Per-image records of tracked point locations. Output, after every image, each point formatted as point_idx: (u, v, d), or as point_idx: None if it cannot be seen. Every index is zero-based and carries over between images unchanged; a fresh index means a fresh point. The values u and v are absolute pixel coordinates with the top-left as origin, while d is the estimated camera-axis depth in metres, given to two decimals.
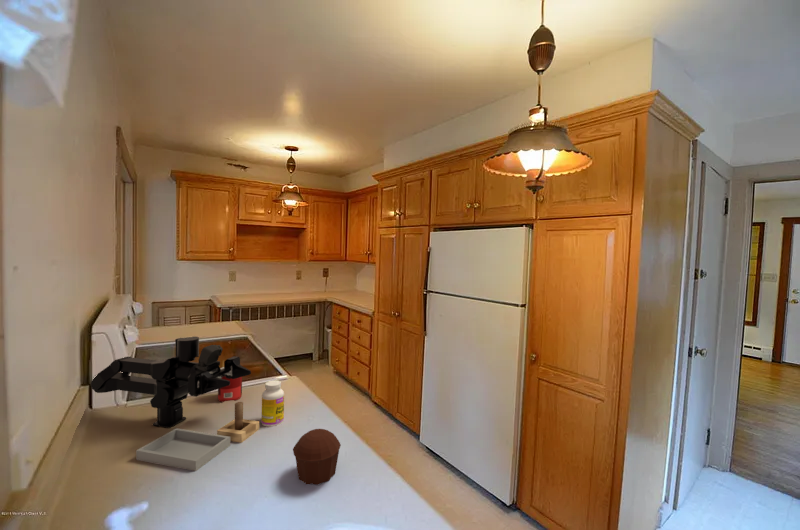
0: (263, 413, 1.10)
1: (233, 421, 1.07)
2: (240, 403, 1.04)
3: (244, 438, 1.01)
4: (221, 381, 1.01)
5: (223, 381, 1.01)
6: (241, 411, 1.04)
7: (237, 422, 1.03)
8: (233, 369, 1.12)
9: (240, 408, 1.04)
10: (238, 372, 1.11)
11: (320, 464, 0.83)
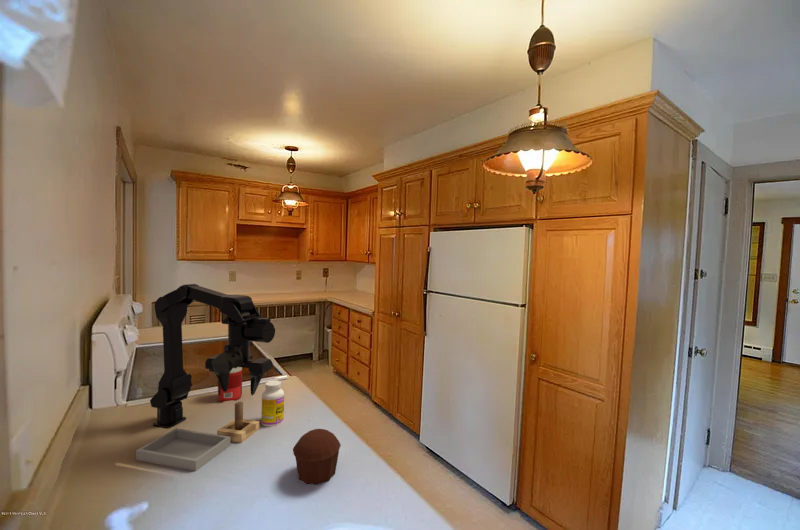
0: (263, 413, 1.10)
1: (233, 421, 1.07)
2: (240, 403, 1.04)
3: (244, 438, 1.01)
4: None
5: None
6: (241, 411, 1.04)
7: (237, 422, 1.03)
8: None
9: (240, 408, 1.04)
10: None
11: (319, 464, 0.83)
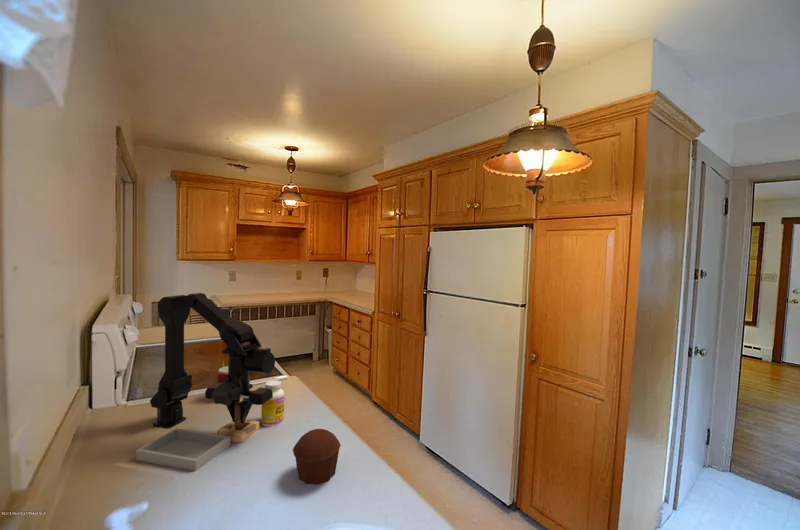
0: (263, 413, 1.10)
1: None
2: None
3: (244, 438, 1.01)
4: None
5: None
6: None
7: (237, 422, 1.03)
8: None
9: None
10: None
11: (319, 464, 0.83)
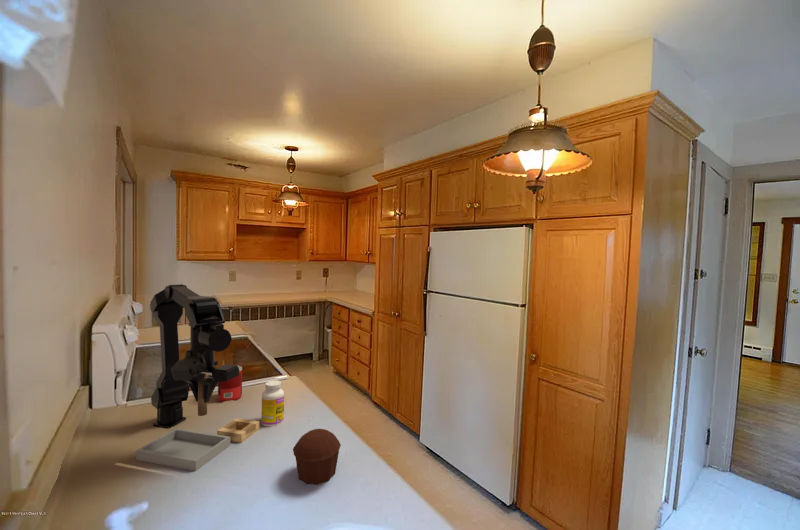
0: (263, 413, 1.10)
1: (233, 421, 1.07)
2: None
3: (244, 438, 1.01)
4: None
5: None
6: None
7: (200, 401, 0.96)
8: None
9: None
10: None
11: (320, 464, 0.83)
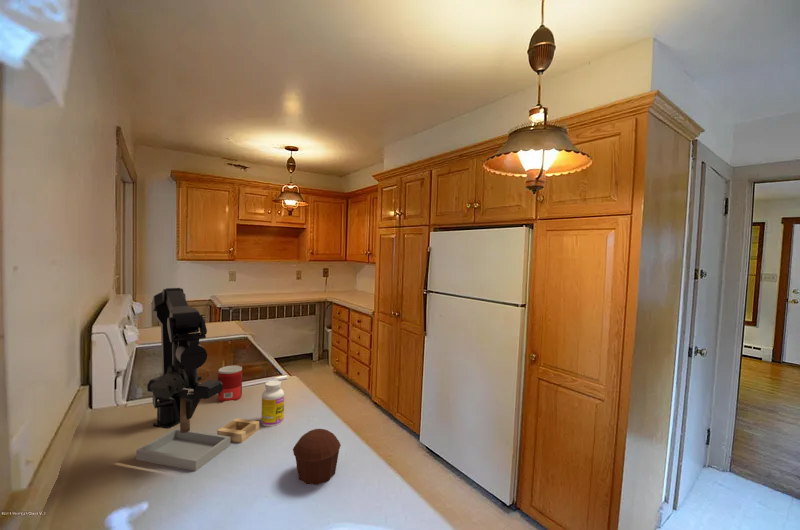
0: (263, 413, 1.10)
1: (233, 421, 1.07)
2: None
3: (244, 438, 1.01)
4: None
5: None
6: None
7: (183, 418, 0.93)
8: None
9: None
10: None
11: (319, 464, 0.83)
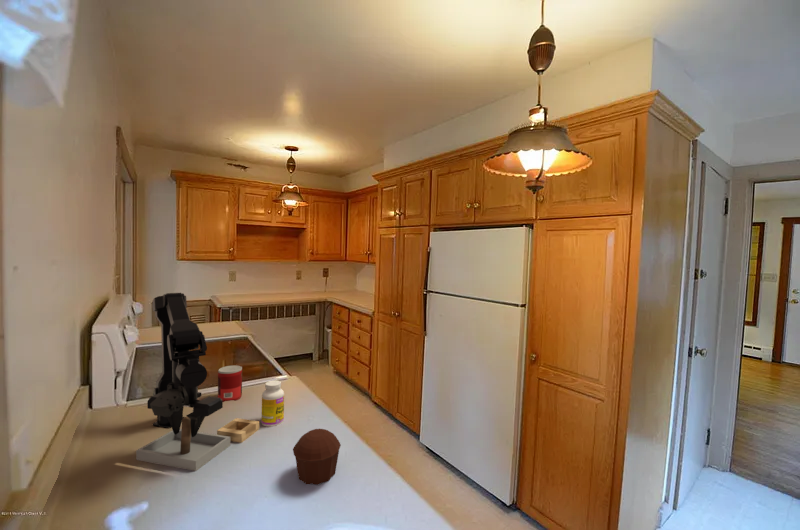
0: (263, 413, 1.10)
1: (233, 421, 1.07)
2: (188, 418, 0.94)
3: (244, 438, 1.01)
4: None
5: None
6: (188, 427, 0.94)
7: (183, 439, 0.93)
8: None
9: (188, 424, 0.94)
10: None
11: (319, 464, 0.83)
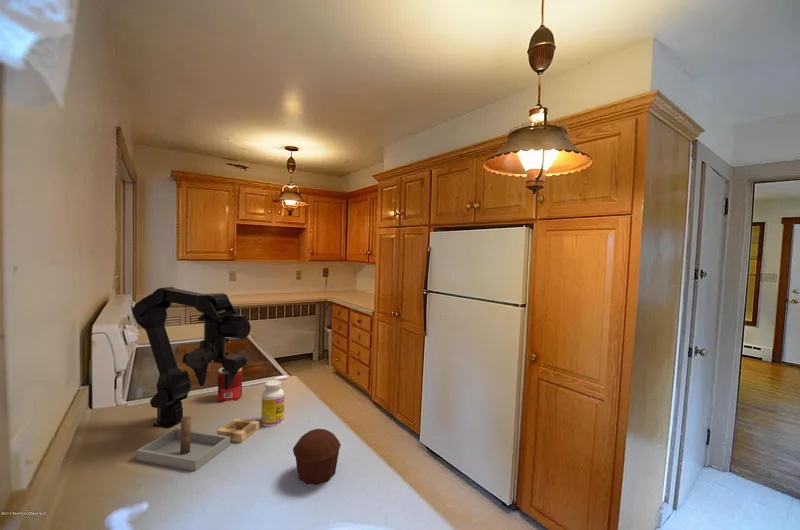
0: (263, 413, 1.10)
1: (233, 421, 1.07)
2: (187, 418, 0.94)
3: (244, 438, 1.01)
4: None
5: None
6: (187, 427, 0.94)
7: (183, 439, 0.93)
8: None
9: (187, 424, 0.94)
10: None
11: (319, 464, 0.83)
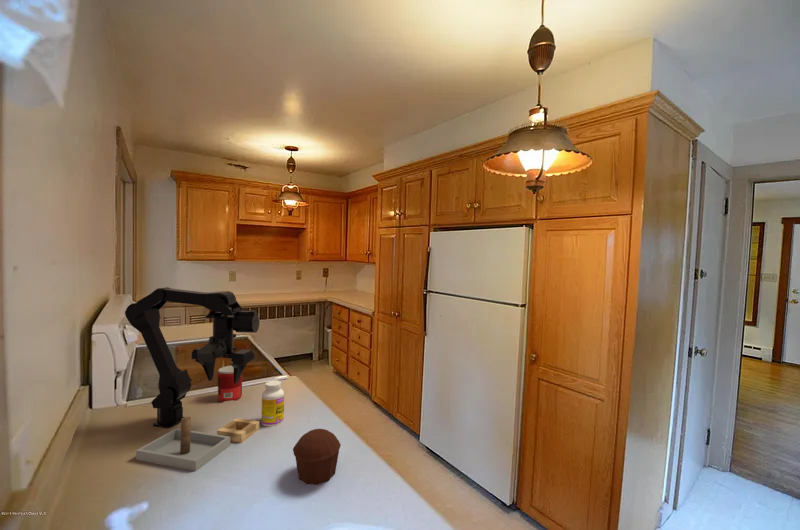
0: (263, 413, 1.10)
1: (233, 421, 1.07)
2: (187, 418, 0.94)
3: (244, 438, 1.01)
4: None
5: None
6: (187, 428, 0.94)
7: (183, 439, 0.93)
8: None
9: (187, 424, 0.94)
10: None
11: (319, 464, 0.83)
